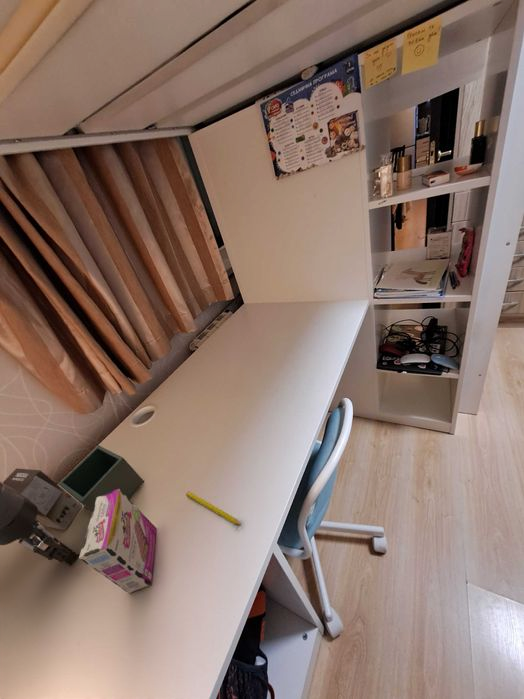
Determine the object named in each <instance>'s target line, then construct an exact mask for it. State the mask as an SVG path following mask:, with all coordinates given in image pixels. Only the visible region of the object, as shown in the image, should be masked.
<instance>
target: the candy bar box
mask: <svg viewBox="0 0 524 699" xmlns="http://www.w3.org/2000/svg"><path fill="white" fill-rule="evenodd" d="M156 538H157V527H156V526H155V525H154V524H153V523H152V522H151V520H149V519H148V517H146V515H145V514H144V513H143V512H142V511H141V510H140V509H139V508H138V507H137V506H136V504H134V503H133V502H132V501H131V499H128V498H127V497H126V496H125V495H124V493H123V492H122V491H121V490H120V489H118V490H115V491H112V492H110V493H107V494H105V495H102V496H99V497H97V498H96V502H95V505H94V509H93V512H91V515H90V520H89V522H88V525H87V529H86V533H85V536H84V539H83V543H82V546H81V549H80V553H79V556H78V559H79V560H81V561H82V562H83V563H85V565H88V566H89V567H91V568H92V569H93V570H94V571H96V572H98V573H99V574H100V575H102V576H103V577H105V578H106V579H107V580H109V581H110V582H111V583H113V584H114V585H117V587H119V588H120V589H122V591H124V592H126V593H127V594H133V593H134V592H137V591H139V590H143V589H145V588H147V587H151V586H152V584H153V574H154V573H153V572H154V562H155V560H154V559H155V549H156Z"/></svg>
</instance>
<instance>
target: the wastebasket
mask: <svg viewBox="0 0 524 699" xmlns="http://www.w3.org/2000/svg"><path fill="white" fill-rule="evenodd" d="M144 482H145V480H144V479H143V478H142V477H141V476H140V474H138V473H137V471H136V470H135V469H134V468H133V467H132V466H131V465H130V464H129V463H128V461H127V460H126V459H125V457H123V456H120V455H119V454H117V453H114V452H113V451H111V450H109V449H107V448H105V447H103V446H101V445H98V444H97V446H95V447H94V449H92V451H91V452H89V453H88V454H87V455H86V456H85V457H84V458H83V459H82V460H81V461H80V462H79V463H78V464H77V465H75V466H74V468H72V470H71V471H70V472H69V473H68V474H66V475H65V476H64V477H63V479H61V480H60V481H59V482H57V484H58V485H59V486H60V487H61V488H62V489H64V490H65V491H66V492H67V493H68V494H69V495H71V496H72V497H73V498H74V499H76V500H77V501H78V502H79V503H80V504H81V505H82V506H83V507H85V508H86V509H87V510H89V511H90V512H91V513H92V512H93V509H94V505H95V502H96V498H97V497H99V496H102V495H105V494H107V493H110V492H112V491H115V490H118V489H120V490H121V491H122V492H123V493H124V495H125V496H126V497H127V498H128V499H129V500H131V497H133V495H134V494H135V493H136V492H137V491H138V489H139V488H140V487H141V485H142V484H143V483H144Z"/></svg>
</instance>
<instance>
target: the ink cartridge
mask: <svg viewBox="0 0 524 699" xmlns="http://www.w3.org/2000/svg"><path fill="white" fill-rule="evenodd" d="M45 535H46V534H45ZM45 537H47V535H46V536H45ZM55 538H56V537H55ZM55 538H53V539H54V540H55V541H56V542H59V543H60V545H62V546H63V547H64V548H66V549H67V550H69V551H70V554H69V556H68V557H67V558H66V559H65V560H64V561H63V562H64V564H66V565H68V566H69V567H71V566H72V565H73V564H74V563H75V562H76V560H77V559H78V558H79V556H80V553H77V552H76V551H75V550H73V549H71V548H70V547H69V546H67V545H65V544H64V543H63V542H61V541H60V540H59V539H58V540H56V539H57V538H56V539H55Z"/></svg>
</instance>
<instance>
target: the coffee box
mask: <svg viewBox="0 0 524 699" xmlns="http://www.w3.org/2000/svg"><path fill="white" fill-rule="evenodd" d="M2 483H3V484H5V485H7V486H9V487H11V488H13V489H15V490H16V491H17V492H19V493H20V494H21V495H23V496H24V497H25V498H27V499H28V500H30V501H31V502H32V503H34V504H35V505H36V506H37V508H38V514H37V517H36V519H37V520H38V521H39V523H41V524H42V525H43V526H44V527H47V528H52V529H58V530H63V531H65V530H67V528H69V526H70V524H71V523H72V521H73V520H74V519H75V517H76V515H77V514H78V513H79V511H80V510H81V508H82V506H83V505H82V504H81V503H80V502H79V501H78V500H76V499H75V498H74V497H73V496H72V495H70V494H69V493H68V492H67V491H66V490H64V489H63V488H62V487H61V486H60V485H58V483H57V482H55V481H54V480H53V479H51V478H50V477H49V476H48V475H47V474H46V473H44V472H43V471H42V470H40V469H26V468H17V467H16V468H15V469H14V470H13V471H12V472H11V473H10V474H9V475H8V476H7V477H6V478H5V480H3V481H2Z"/></svg>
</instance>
